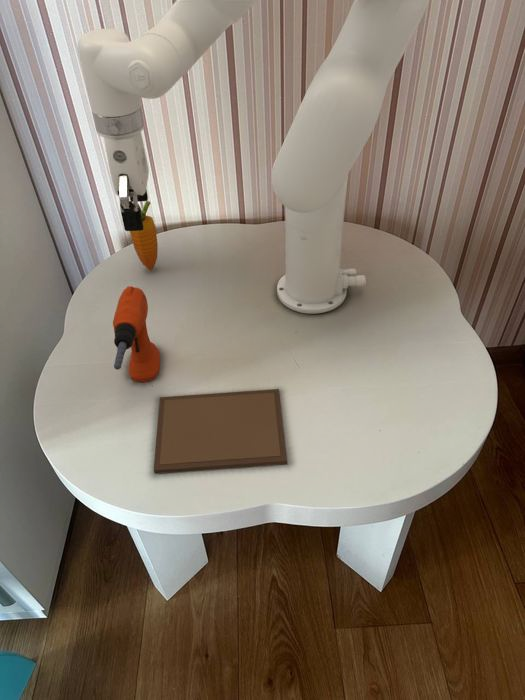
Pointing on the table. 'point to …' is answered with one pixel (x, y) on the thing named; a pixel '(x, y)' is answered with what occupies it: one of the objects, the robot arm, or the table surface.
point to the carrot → (146, 240)
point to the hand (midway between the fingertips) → (137, 214)
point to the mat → (219, 431)
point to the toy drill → (135, 336)
